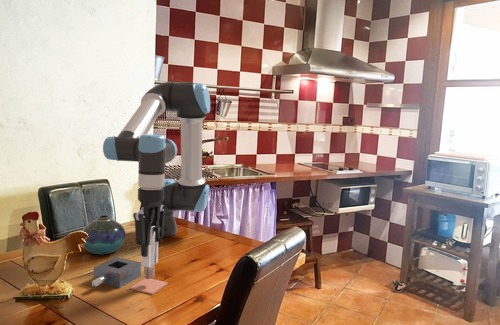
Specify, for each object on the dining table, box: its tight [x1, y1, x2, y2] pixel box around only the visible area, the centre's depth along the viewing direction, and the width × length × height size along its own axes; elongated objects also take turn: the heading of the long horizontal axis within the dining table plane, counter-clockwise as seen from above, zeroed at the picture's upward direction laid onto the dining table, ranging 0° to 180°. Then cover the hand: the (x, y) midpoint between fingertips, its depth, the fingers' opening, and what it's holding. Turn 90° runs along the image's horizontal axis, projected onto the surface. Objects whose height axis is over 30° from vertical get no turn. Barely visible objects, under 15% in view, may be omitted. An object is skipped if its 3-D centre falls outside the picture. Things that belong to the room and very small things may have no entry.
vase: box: [82, 214, 126, 256], centre depth 145 cm, size 15×15×13 cm
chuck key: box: [143, 224, 161, 279], centre depth 118 cm, size 6×3×16 cm, turn 68°
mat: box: [129, 278, 169, 296], centre depth 119 cm, size 8×8×1 cm
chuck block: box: [91, 256, 142, 289], centre depth 121 cm, size 15×10×4 cm, turn 158°
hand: (149, 263), depth 118 cm, fingers closed on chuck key, 3 cm apart
